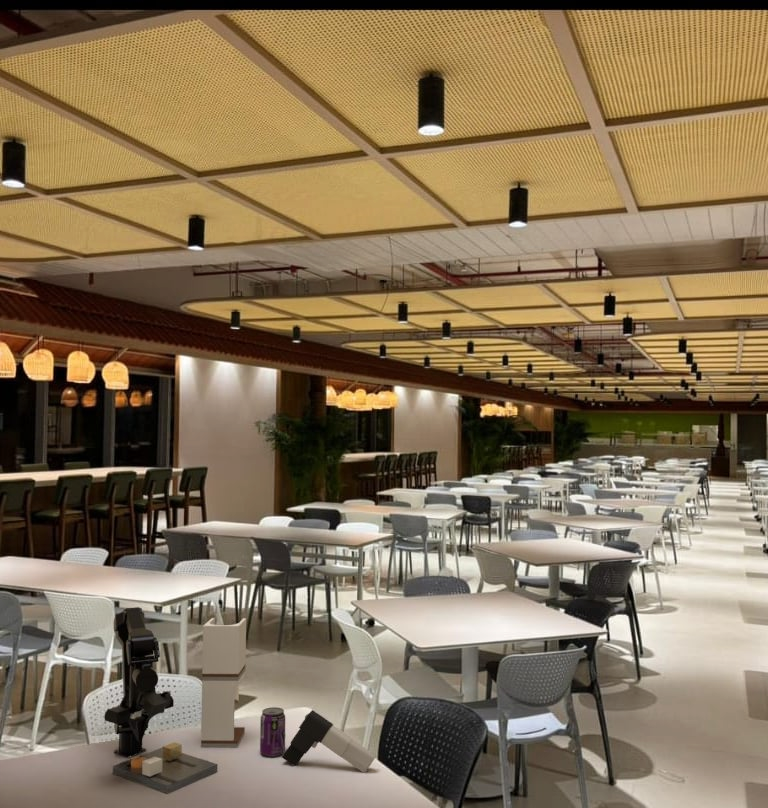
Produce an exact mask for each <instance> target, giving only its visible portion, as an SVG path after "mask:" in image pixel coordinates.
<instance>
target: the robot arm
mask: <svg viewBox="0 0 768 808" xmlns="http://www.w3.org/2000/svg"><path fill="white" fill-rule="evenodd" d="M145 618H146V617H145V612H143V609H142V607H139V606H137V607H126V608H123V610H122V611H121V612H119V613H118V614H115V616H114V618H113V632H115V638H116V640H117V641H118V643H119V644H120V646H121V653H122V656H121V659H122V662H121V663H122V684H123V686H122V689H123V691H122V692H123V695H122V696H123V698H122V699H121V701H120V704H119V705H118V706H115V707H112V708H108V709H107V710H106V711H105V712H104V721H105V722H108V723H112V724H114V732H115V733H116V735H118V749H115V750H114V751H113V753H114V754H117V755H120V756H123V757H126V758H130V757H133V756H136V755H139V754H140V753H144V752H146V751H147V748H145V747H143V739H144V736H145V733H146V731H148V729H149V723H150V721H151V719H152V718H153V717H155V716H157V715H159V714H163V713H165V710H167V709H170V708H174V706H175V705H174V698H173V696H172V695H171V692H170V691H168V690H167V691H163V692H159V693H157V691H156V686H157V685H158V682H159V676H158V673H157V671H156V670H155V668H154V667H153V663H158V662H159V661H160V660H159V658H160V657H161V652H160V651H161V650H160V645H159V641H158V638H157V637H156V636H155V635H154V633H153V631H152V630H151V629H148V628H146V620H145Z"/></svg>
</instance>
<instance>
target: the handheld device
mask: <svg viewBox="0 0 768 808" xmlns="http://www.w3.org/2000/svg"><path fill="white" fill-rule="evenodd" d="M298 728H299V730H298V731H297V732H296V734H295V735H294V736H293V738H292V740H291V741H290V745H289V746H288V748H287V749H285V751H284V752H283V753H282V756H281V758H282V759H284V761H286V762H288V764H289V765H291V766H293V767H296V766H297V765H298V764H299V763H300V761H301V760H302V758H303V757H304V756H305V754H307V753H308V752H309V750H310V749H311V748H314V749H315V748H316V747H317V746H318V745H319V743H320V744H321V745H323V746H324V747H326V748H327V749H329V751H332V752H333V753H334V754H336V755H337V756H338V757H340V758H342V760H344V761H346V762H347V763H349V764H351V765H352V766H353V767H355V768H356V769H358V770H359V771H361V772H362V773H366V772H367V770H368V769H369V768H370V766H371V765H372V763H373V761H374V760H375V759H376V755H375V754H374V753H372V752H371V751H369V750H368V749H366V748H365V747H364V746H363V745H361V744H360V743H359V742H357V741H355V740H354V739H353V738H352V737H351V736H350V735H348V734H347V733H346V732H343V731H342V730H341V729H339V728H338V727H336V726H335V725H334V724H333V723H332V722H331V721H329V720H328V719H326V718H325V717H324V716H323V715H320V714H319V713H318V712H317V711H315V710H313V709H312V710H311V711H310V712H309V713H306V714H305V716H304V720H302V722H301V723H300V725H299V727H298Z"/></svg>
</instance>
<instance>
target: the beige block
mask: <svg viewBox="0 0 768 808" xmlns="http://www.w3.org/2000/svg"><path fill="white" fill-rule="evenodd" d="M160 772H162V759H161V758H158V757H152V758H150V759H147V760H145V761H143V763H142V774H144V775H147V776H149V777H150V776H152V775H155V774H157V773H160Z"/></svg>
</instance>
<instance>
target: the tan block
mask: <svg viewBox="0 0 768 808" xmlns="http://www.w3.org/2000/svg"><path fill="white" fill-rule="evenodd" d="M162 747H163V759H165V760H168V761H171V760H174V759H176V758H179V757H181V756H182V753H183V751H182V749H183V744H181V743H178V742H172V743H169V744H167V745H164V746H162Z"/></svg>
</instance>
